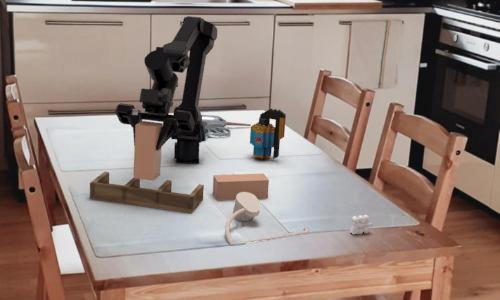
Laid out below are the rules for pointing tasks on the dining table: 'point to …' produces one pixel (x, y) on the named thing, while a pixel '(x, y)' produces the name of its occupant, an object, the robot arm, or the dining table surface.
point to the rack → (145, 194)
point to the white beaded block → (360, 224)
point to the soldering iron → (217, 125)
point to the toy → (267, 134)
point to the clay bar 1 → (147, 150)
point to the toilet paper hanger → (249, 215)
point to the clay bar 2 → (240, 185)
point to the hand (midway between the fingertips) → (146, 148)
